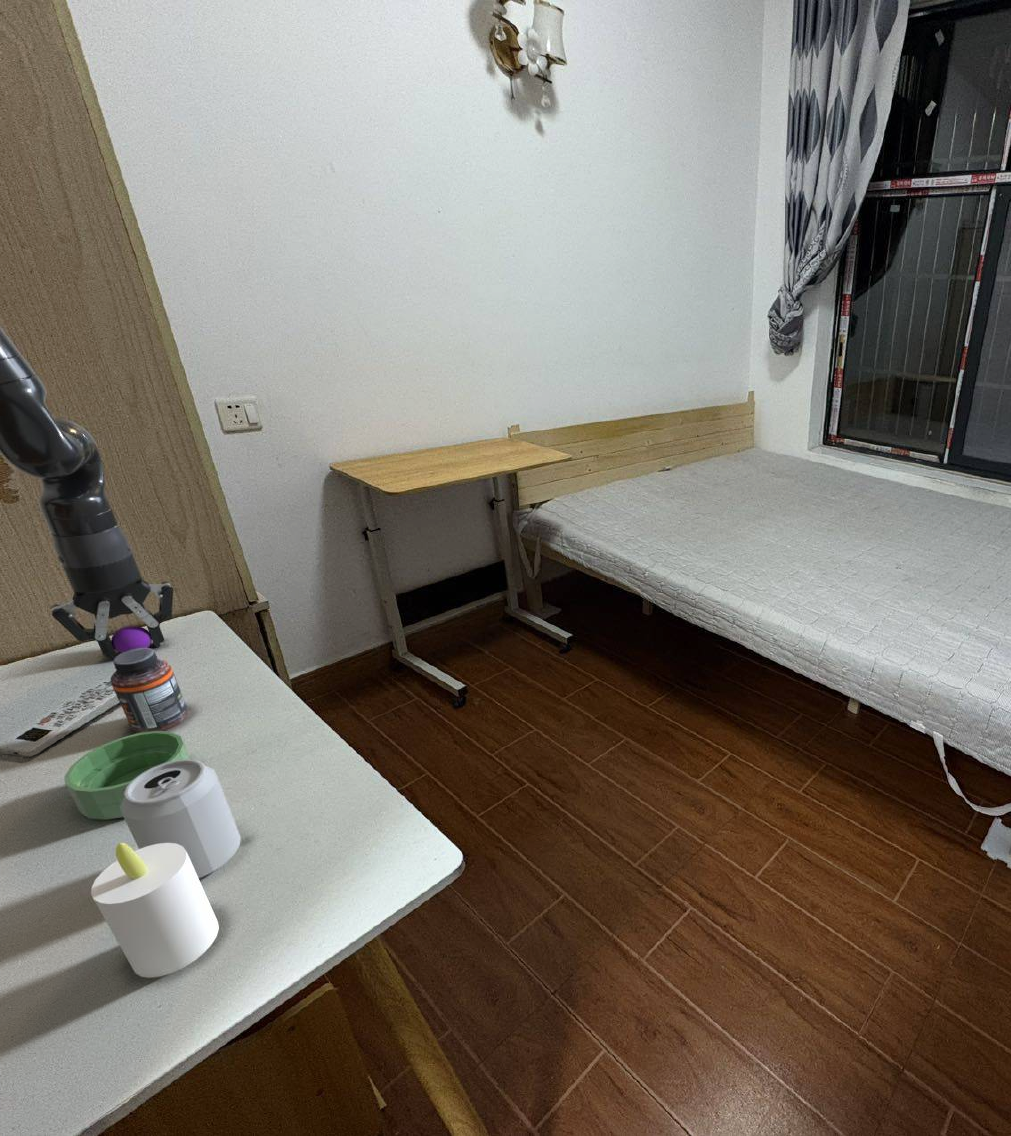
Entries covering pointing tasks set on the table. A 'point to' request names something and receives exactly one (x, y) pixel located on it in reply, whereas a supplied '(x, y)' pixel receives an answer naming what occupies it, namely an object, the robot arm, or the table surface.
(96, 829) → the table surface
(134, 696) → the supplement bottle
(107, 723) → the table surface
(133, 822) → the can
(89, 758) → the bowl
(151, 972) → the candle
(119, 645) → the ball
